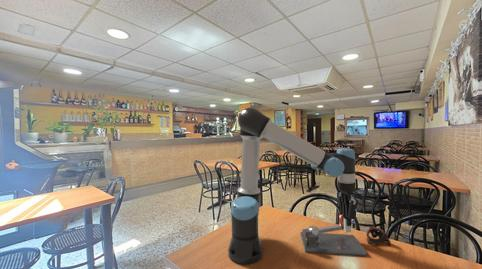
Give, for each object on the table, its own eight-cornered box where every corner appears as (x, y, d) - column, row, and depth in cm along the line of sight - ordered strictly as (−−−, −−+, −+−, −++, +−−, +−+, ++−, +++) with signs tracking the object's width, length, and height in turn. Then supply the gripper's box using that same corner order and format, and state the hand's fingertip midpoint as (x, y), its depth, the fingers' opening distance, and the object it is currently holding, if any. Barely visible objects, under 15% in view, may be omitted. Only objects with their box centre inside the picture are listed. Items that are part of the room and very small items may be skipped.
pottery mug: (397, 250, 92) (391, 236, 90) (376, 258, 94) (370, 244, 92) (381, 230, 103) (375, 218, 102) (362, 237, 105) (357, 225, 103)
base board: (305, 252, 91) (304, 236, 91) (300, 236, 105) (300, 222, 105) (366, 256, 87) (366, 239, 87) (353, 238, 101) (353, 224, 101)
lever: (306, 242, 94) (306, 223, 94) (301, 237, 98) (301, 219, 98) (347, 235, 100) (347, 217, 99) (341, 231, 104) (341, 213, 104)
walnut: (306, 244, 94) (306, 238, 94) (305, 241, 96) (305, 235, 96) (312, 244, 93) (311, 238, 93) (310, 241, 96) (310, 235, 96)
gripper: (363, 184, 91) (364, 238, 91) (346, 178, 104) (347, 225, 104) (346, 185, 90) (347, 239, 91) (331, 178, 103) (332, 225, 103)
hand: (347, 231), depth 97 cm, fingers closed
